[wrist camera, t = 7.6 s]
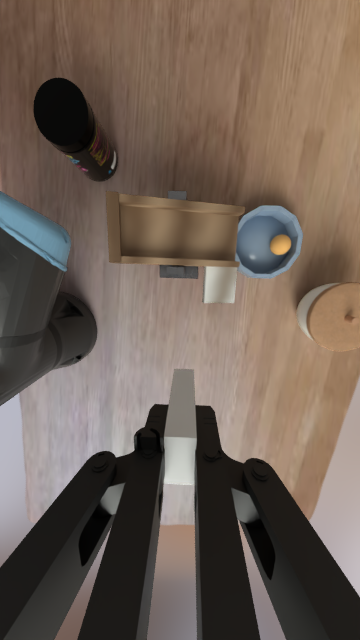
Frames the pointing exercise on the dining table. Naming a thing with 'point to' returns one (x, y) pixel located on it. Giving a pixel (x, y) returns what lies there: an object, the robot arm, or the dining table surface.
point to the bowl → (266, 241)
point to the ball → (280, 244)
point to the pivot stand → (175, 270)
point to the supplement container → (74, 128)
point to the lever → (177, 237)
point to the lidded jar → (332, 315)
